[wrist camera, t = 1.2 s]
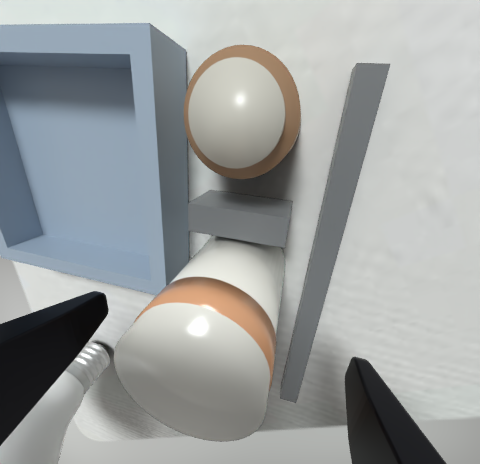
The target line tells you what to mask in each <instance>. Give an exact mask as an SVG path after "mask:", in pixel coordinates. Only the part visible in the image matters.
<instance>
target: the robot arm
mask: <svg viewBox="0 0 480 464" xmlns="http://www.w3.org/2000/svg"><path fill="white" fill-rule="evenodd" d="M107 314H108V305H107V299H106V295H105V294H104V293H101V292H97V291H93V292H90V293H87V294H84V295H81V296H79V297H76V298H73V299H70V300H67V301H64V302H62V303H59V304H56V305H53V306H50V307H47V308H45V309H42V310H39V311H36V312H33V313H30V314H28V315H25V316H22V317H19V318H16V319H13V320H11V321H8V322H5V323H2V324H0V446H1V445H2V444H3V442H4V441H5V440H6V439H7V438H8V437H9V435H10V434H11V433H12V432H13V431H14V430H15V428H16V427H17V426H18V425H19V424H20V423H21V421H22V420H23V419H24V418H25V417H26V416H27V414H28V413H29V412H30V411H31V410H32V409H33V407H34V406H35V405H36V404H37V403H38V401H39V400H40V399H41V398H42V397H43V396H44V394H45V393H46V392H47V391H48V390H49V389H50V387H51V386H52V385H53V384H54V383H55V382H56V380H57V379H58V378H59V377H60V376H61V375H62V373H63V372H64V371H65V370H66V369H67V368H68V366H69V365H70V364H71V363H72V362H73V361H74V359H75V358H76V357H77V356H78V354H79V353H80V352H81V351H82V349H83V348H84V347H85V345H86V344H87V343H88V341H89V340H90V338H91V337H92V336H93V334H94V333H95V331H96V330H97V329H98V327H99V326H100V324H101V323H102V322H103V320H104V319H105V318H106V316H107ZM345 393H346V409H347V426H348V439H349V446H350V453H351V459H352V464H446V462H445V461H444V460H443V458H442V457H441V456H440V455H439V453H438V452H437V451H436V449H435V448H434V447H433V445H432V444H431V443H430V442H429V440H428V439H427V438H426V436H425V435H424V434H423V433H422V431H421V430H420V429H419V427H418V426H417V424H416V423H415V422H414V420H413V419H412V418H411V416H410V415H409V414H408V413H407V411H406V410H405V409H404V407H403V406H402V405H401V403H400V402H399V401H398V399H397V398H396V397H395V395H394V394H393V393H392V392H391V390H390V389H389V388H388V386H387V385H386V384H385V382H384V381H383V380H382V378H381V377H380V376H379V374H378V373H377V372H376V371H375V369H374V368H373V367H372V365H371V364H370V363H369V362H368V361H367V360H365V359H362V358H358V357H353V358H352V359H351V361H350V364H349V366H348V369H347V371H346V374H345Z"/></svg>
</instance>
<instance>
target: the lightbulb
mask: <svg viewBox="0 0 480 464" xmlns="http://www.w3.org/2000/svg"><path fill="white" fill-rule="evenodd" d="M109 364H110V358H109V355H108V352H107V350H106V348H105V347H104V346H103V345H101V344H98V343H93V342H88V343H87V344H86V345H85V347H84V348H83V349H82V351H81V352H80V353H79V354H78V356H77V357H76V358H75V359H74V361H73V362H72V363H71V364H70V365H69V366H68V368H67V369H66V370H65V371H64V372H63V373H62V375H61V376H60V377H59V378H58V379H57V380H56V382H55V383H54V384H53V385H52V386H51V387H50V389H49V390H48V391H47V392H46V393H45V394H44V396H43V397H42V398H41V399H40V400H39V401H38V403H37V404H36V405H35V406H34V407H33V409H32V410H31V411H30V412H29V413H28V414H27V416H26V417H25V418H24V419H23V420H22V421H21V423H20V424H19V425H18V426H17V427H16V428H15V430H14V431H13V432H12V433H11V434H10V435H9V437H8V438H7V439H6V440H5V441H4V442H3V444H2V445H1V446H0V464H58V461H59V458H60V454H61V450H62V446H63V442H64V438H65V434H66V431H67V428H68V426H69V423H70V422H71V420H72V418H73V416H74V415H75V413H76V412H77V410H78V408H79V407H80V405H81V402H82V400H83V397H84V394H85V393H86V392H87V391H88V389H89V388H90V386H91V385H93V383H94V381H95V380H97V379H98V376H99V375H101V374H102V372H103V371H104V370H105V369H106V368H107V366H108V365H109Z"/></svg>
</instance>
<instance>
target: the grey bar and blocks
mask: <svg viewBox="0 0 480 464" xmlns="http://www.w3.org/2000/svg"><path fill="white" fill-rule="evenodd" d="M389 67H390V64H375V63H357V64H356V65H355V67H354V68H353V70H352V74H351V78H350V83H349V87H348V92H347V96H346V101H345V105H344V109H343V114H342V118H341V123H340V127H339V132H338V136H337V140H336V145H335V149H334V154H333V158H332V163H331V167H330V172H329V176H328V180H327V185H326V189H325V194H324V198H323V203H322V207H321V211H320V216H319V220H318V225H317V229H316V234H315V238H314V242H313V247H312V251H311V256H310V260H309V265H308V269H307V273H306V278H305V282H304V287H303V291H302V296H301V300H300V304H299V309H298V313H297V318H296V322H295V327H294V331H293V335H292V340H291V344H290V349H289V353H288V358H287V362H286V366H285V371H284V375H283V380H282V384H281V393H280V398H281V399H284V400H288V401H291V402H294V403H296V402H297V398H298V394H299V391H300V387H301V384H302V380H303V376H304V373H305V369H306V366H307V362H308V358H309V355H310V351H311V348H312V344H313V340H314V337H315V333H316V330H317V326H318V322H319V319H320V315H321V312H322V308H323V304H324V301H325V297H326V294H327V290H328V287H329V283H330V279H331V276H332V272H333V269H334V265H335V261H336V258H337V254H338V251H339V247H340V243H341V240H342V236H343V233H344V229H345V225H346V222H347V218H348V215H349V211H350V207H351V204H352V200H353V197H354V193H355V189H356V186H357V182H358V179H359V175H360V171H361V168H362V164H363V161H364V157H365V153H366V150H367V146H368V143H369V139H370V136H371V132H372V128H373V125H374V121H375V118H376V114H377V110H378V107H379V103H380V100H381V96H382V92H383V89H384V85H385V82H386V78H387V74H388V71H389ZM292 202H293V201H287V200H280V199H273V198H265V197H258V196H251V195H243V194H236V193H229V192H222V191H214V190H210V191H208V192H206V193H204V194H203V195H201V196H199V197H198V198H196V199H194V200H192V201H191V202H189V203H188V231H192V232H197V233H203V234H209V235H214V236H220V237H226V238H231V239H237V240H243V241H248V242H254V243H260V244H265V245H271V246H277V247H282V248H285V245H286V239H287V233H288V227H289V221H290V215H291V208H292Z"/></svg>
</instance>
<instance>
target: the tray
mask: <svg viewBox="0 0 480 464" xmlns="http://www.w3.org/2000/svg"><path fill="white" fill-rule="evenodd" d="M186 93H187V84H186V50H185V49H184V48H182V47H181V46H180V45H178V44H177V43H176V42H174V41H173V40H172V39H170V38H169V37H168V36H166V35H165V34H164V33H162V32H161V31H159V30H158V29H157V28H155V27H154V26H153V25H151V24H150V23H119V24H31V25H0V256H1V258H5V259H9V260H13V261H17V262H21V263H25V264H29V265H34V266H38V267H42V268H46V269H50V270H54V271H58V272H63V273H67V274H71V275H75V276H79V277H83V278H87V279H92V280H96V281H100V282H104V283H108V284H112V285H116V286H121V287H125V288H129V289H133V290H137V291H141V292H145V293H150V294H154V295H158V294H159V293H160V291H161V290H162V289H163V288H165V287H166V286H167V285H168V284H170V283H171V282H172V280H173V279H174V278H175V277H176V276H177V275H178V274H179V273H180V272H181V270H182V269H183V268H184V267H185V266H186V265H187V264H188V263H189V231H188V154H187V134H186V130H185V125H184V102H185V96H186Z"/></svg>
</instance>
